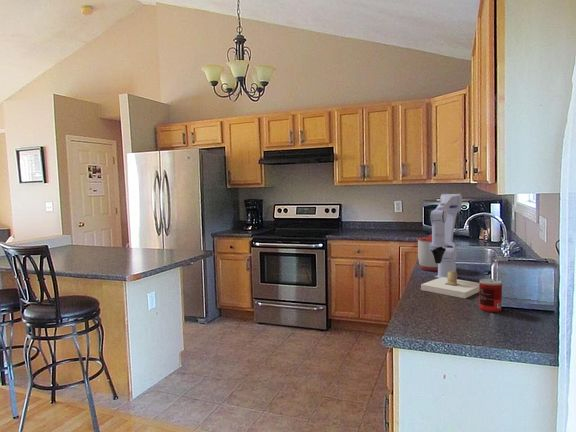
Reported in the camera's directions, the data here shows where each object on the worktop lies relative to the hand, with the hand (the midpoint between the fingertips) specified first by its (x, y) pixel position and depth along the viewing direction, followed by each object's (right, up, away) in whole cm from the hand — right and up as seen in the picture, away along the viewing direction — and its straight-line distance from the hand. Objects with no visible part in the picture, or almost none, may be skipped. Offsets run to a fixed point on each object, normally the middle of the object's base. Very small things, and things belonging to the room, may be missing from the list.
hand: (438, 263), depth 193 cm
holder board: (+3, -11, -11) cm, 15 cm away
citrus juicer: (+9, -7, +34) cm, 36 cm away
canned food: (+5, -13, -40) cm, 42 cm away
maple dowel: (+2, -11, -10) cm, 15 cm away
